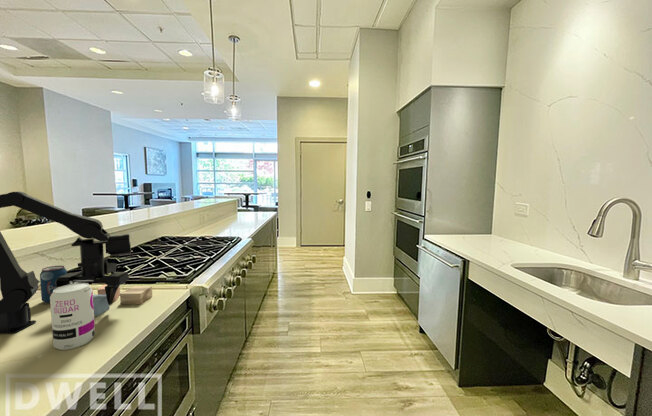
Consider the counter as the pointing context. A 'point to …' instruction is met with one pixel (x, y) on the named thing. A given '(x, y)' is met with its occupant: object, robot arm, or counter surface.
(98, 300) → the slate cube
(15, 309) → the robot arm
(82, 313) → the supplement can
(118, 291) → the terracotta cube
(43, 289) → the soda can
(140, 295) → the oak block
